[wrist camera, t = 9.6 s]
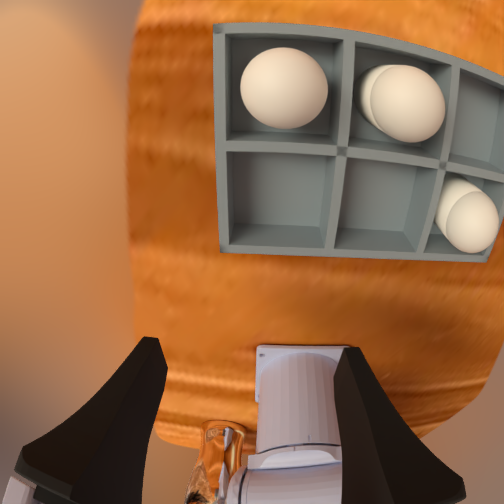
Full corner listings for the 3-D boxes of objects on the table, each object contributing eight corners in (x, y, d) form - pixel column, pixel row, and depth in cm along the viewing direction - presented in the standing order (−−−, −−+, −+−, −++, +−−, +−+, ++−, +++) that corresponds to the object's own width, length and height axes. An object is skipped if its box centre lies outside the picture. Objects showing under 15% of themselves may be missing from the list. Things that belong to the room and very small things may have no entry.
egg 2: (411, 133, 14) (452, 158, 11) (351, 124, 15) (379, 145, 11) (418, 72, 12) (464, 78, 9) (355, 59, 13) (387, 56, 9)
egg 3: (462, 226, 17) (496, 266, 13) (420, 222, 17) (451, 265, 13) (476, 177, 15) (517, 209, 11) (432, 169, 15) (472, 202, 12)
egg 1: (316, 120, 15) (332, 139, 11) (246, 118, 15) (236, 136, 11) (318, 54, 13) (336, 47, 9) (245, 51, 13) (235, 43, 9)
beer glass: (245, 418, 33) (235, 533, 21) (253, 438, 37) (246, 536, 24) (190, 416, 34) (171, 524, 22) (205, 437, 38) (191, 530, 25)
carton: (466, 238, 18) (486, 262, 16) (227, 225, 19) (220, 252, 17) (500, 82, 12) (530, 90, 9) (223, 31, 13) (213, 23, 10)
